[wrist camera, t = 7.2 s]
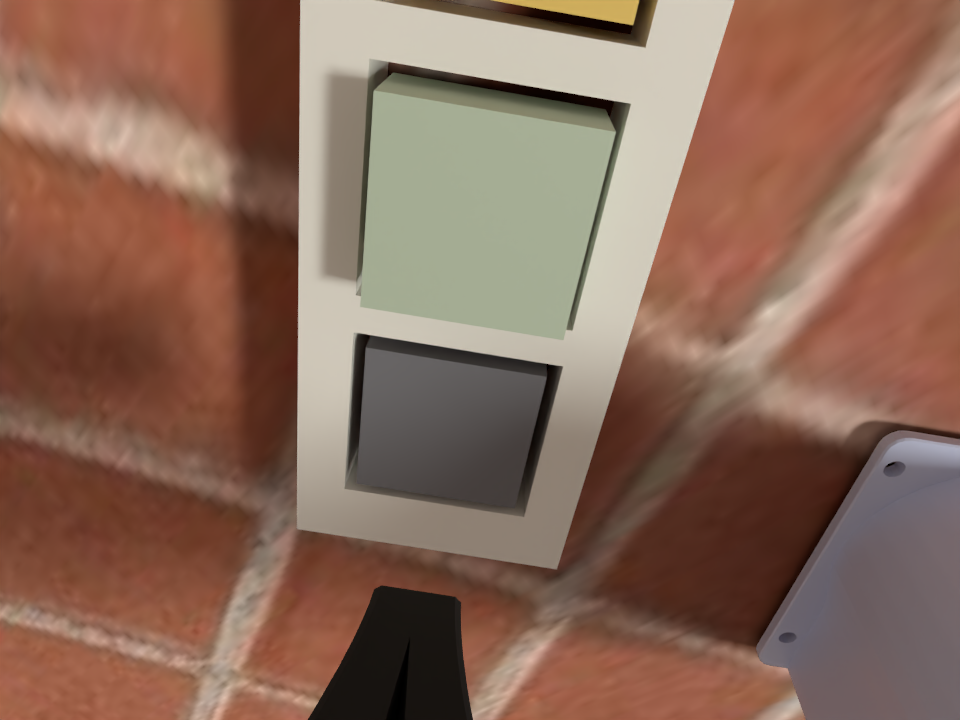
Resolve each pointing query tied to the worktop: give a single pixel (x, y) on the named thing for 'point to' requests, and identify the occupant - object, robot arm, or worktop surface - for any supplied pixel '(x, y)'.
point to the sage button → (480, 204)
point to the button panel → (573, 361)
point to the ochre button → (587, 8)
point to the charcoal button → (447, 421)
